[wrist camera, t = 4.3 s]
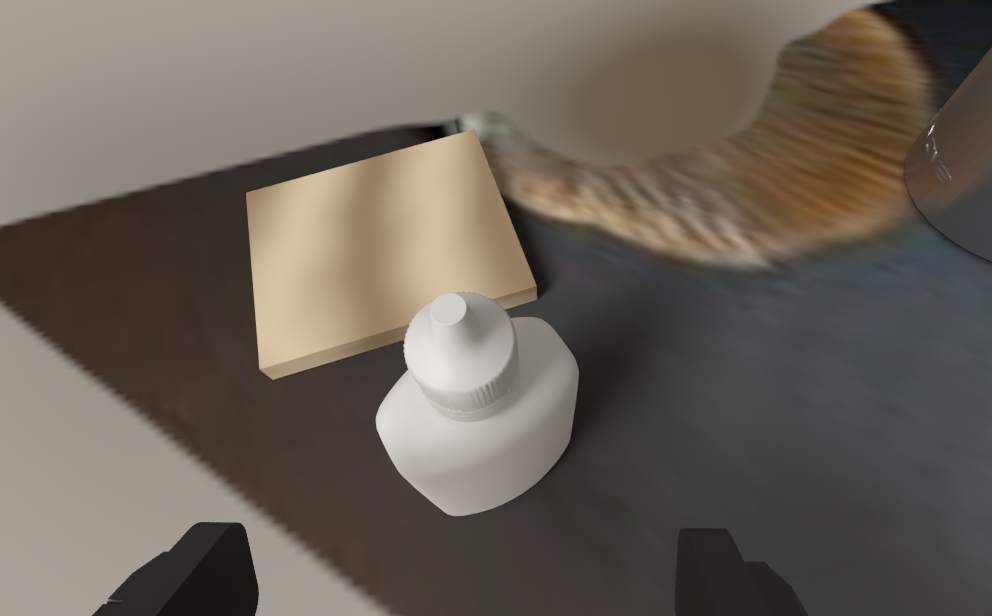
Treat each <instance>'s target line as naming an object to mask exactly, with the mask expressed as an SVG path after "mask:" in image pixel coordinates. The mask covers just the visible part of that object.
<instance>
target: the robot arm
mask: <svg viewBox="0 0 992 616" xmlns="http://www.w3.org/2000/svg"><path fill="white" fill-rule="evenodd" d="M904 176H905V181H906V185H907V189H908V192H909V193H910V195H911V197H912V199H913V201H914V203H915V205H916V207H917V208H918V209H919V210H920V211H921V213H922V214H923V215H924V216H925V217H926V219H927V220H928V221H929V222H930V223H931V224H932V225H933V226H934V227H935V228H937V229H938V230H939V231H940V232H941V233H943V234H944V235H945V236H946V237H947V238H948V239H950V240H952V241H953V242H955V243H956V244H958V245H960V246H961V247H963V248H964V249H966V250H968V251H969V252H971V253H973V254H976V255H978V256H980V257H982V258H984V259H987V260H989V261H991V262H992V48H991V49H990V50H989V51H988V53H987V54H986V55H985V56H984V57H983V59H982V60H981V61H980V62H979V64H978V65H977V66H976V67H975V68H974V70H973V71H972V72H971V73H970V75H969V76H968V77H967V78H966V79H965V81H964V82H963V83H962V84H961V86H960V87H959V88H958V89H957V90H956V92H955V93H954V94H953V95H952V97H951V98H950V99H949V100H948V102H947V103H946V104H945V105H944V106H943V108H940V110H939V111H938V112H937V113H936V115H935V116H934V117H933V118H932V120H931V121H930V123H929V125H928V126H927V127H926V129H925V130H924V131H923V132H922V134H921V135H920V136H919V137H918V139H917V140H916V141H915V142H914V144H913V145H912V146H911V148H910V150H909V152H908V154H907V157H906V159H905V168H904ZM258 596H259V592H258V584H257V579H256V575H255V570H254V565H253V561H252V556H251V552H250V547H249V543H248V538H247V533H246V530H245V528H244V526H243V525H242V524H241V523H223V522H221V523H220V522H216V523H215V522H200V523H197V524H195V525H194V526H192V527H191V528H190V529H189V530H188V531H187V532H186V533H185V534H184V536H183V537H182V538H181V539H180V540H179V541H178V542H177V543H176V544H175V545H174V546H173V548H172V549H171V550H170V551H169V552H163V553H161V554H160V555H158V556H157V557H155V558H154V559H152V560H151V561H149V562H148V563H147V564H145V565H144V566H142V567H141V568H139V569H138V570H136V571H135V572H134V573H132V574H131V575H130V576H129V577H128V578H127V579H126V581H125V582H124V583H123V584H122V585H121V586H120V587H119V588H118V589H117V590H116V591H115V592H114V593H113V594H112V595H111V596H110V597H109V598H108V602H107V604H103V605H102V606H101V607H100V608H99V609H98V610H97V611H96V612H95V613H94V614H93V615H92V616H255V613H256V609H257V605H258ZM675 612H676V616H808V614H807V613H806V611H805V609H804V608H803V606H802V604H801V602H800V601H799V599H798V597H797V596H796V594H795V592H794V591H793V589H792V587H791V586H790V585H789V584H788V583H787V582H785V581H784V580H783V579H782V578H781V577H780V576H779V575H778V574H777V573H776V572H774V571H773V570H772V569H771V568H770V567H769V566H768V565H767V564H766V563H765V562H744V560H743V558H742V556H741V554H740V552H739V550H738V548H737V546H736V544H735V542H734V540H733V538H732V536H731V535H730V533H729V532H728V531H727V530H726V529H698V528H682V529H681V530H680V532H679V539H678V555H677V571H676V587H675Z"/></svg>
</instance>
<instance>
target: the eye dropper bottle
mask: <svg viewBox="0 0 992 616" xmlns="http://www.w3.org/2000/svg"><path fill="white" fill-rule="evenodd" d="M409 326H410V327H409V328H408V329H407V333H406V334H405V336H406V338H405V339H404V342H405V344H404V345H403V346H404V348H405V349H404V351H403V352H404V353H405V355H404V357H405V359H406V361H405V362H406V364H407V365H408V366H407V367H408V370H407V371H406V373H405V374H404V375H403V376H402V377H401V378H400V379H399V380H398V382H397V383H396V384H395V385H394V386H393V388H392V389H391V390H390V392H389V393H388V395H387V396H386V398H385V399H384V401H383V402H382V404H381V405H380V407H379V410H378V413H377V416H376V426H377V430H378V433H379V435H380V438H381V440H382V442H383V444H384V446H385V448H386V450H387V452H388V454H389V456H390V458H391V460H392V461H393V463H394V465H395V466H396V468H397V470H398V471H399V473H400V474H401V475H402V476H403V477H404V478H405V479H406V480H407V481H408V482H409V483H410V484H411V485H413V486H414V487H415V488H416V489H417V490H418V491H419V492H421V493H422V494H423V495H424V496H425V497H427V498H428V499H429V500H430V501H431V502H433V503H434V504H435V505H436V506H438V507H439V508H440V509H441V510H443V511H444V512H445V513H447V514H449V515H453V516H464V515H470V514H475V513H479V512H483V511H486V510H489V509H492V508H495V507H497V506H500V505H502V504H504V503H507V502H509V501H510V500H512V499H514V498H516V497H518V496H519V495H521V494H522V493H524V492H525V491H527V490H528V489H530V488H531V487H532V486H533V485H535V484H536V483H537V482H538V481H539V480H540V479H541V478H542V477H543V476H544V475H545V474H546V473H547V472H548V471H549V470H550V469H551V468H552V467H553V466H554V464H555V463H556V462H557V461H558V459H559V458H560V457H561V455H562V454H563V452H564V451H565V449H566V447H567V445H568V443H569V441H570V437H571V431H572V425H573V418H574V411H575V404H576V397H577V389H578V378H579V370H578V366H577V363H576V360H575V358H574V356H573V355H572V353H571V352H570V350H569V349H568V347H567V346H566V344H565V343H564V342H563V340H562V339H561V338H560V337H559V335H558V334H557V333H556V331H555V330H554V329H553V328H552V327H551V326H550V325H549V324H548V323H547V322H545V321H544V320H542V319H539V318H533V317H519V318H510V316H509V315H507V312H506V311H504V308H503V307H500V304H497V303H496V301H493V300H491V298H486V296H481V294H476V293H470V292H467V293H466V292H461V293H460V292H457V293H444V294H441V295H439V296H438V297H436V298H435V299H434V300H432V301H431V302H430V303H428V304H427V305H426V306H424V307H422V309H421V310H420V311H418V314H416V315H415V318H413V319H412V322H411V323H410V324H409Z"/></svg>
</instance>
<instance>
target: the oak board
mask: <svg viewBox="0 0 992 616" xmlns="http://www.w3.org/2000/svg"><path fill="white" fill-rule="evenodd" d="M246 198H247V211H248V224H249V237H250V250H251V263H252V276H253V289H254V302H255V315H256V328H257V341H258V354H259V367H260V370H261V371H262V372H264V373H265V374H266V375H268V376H269V377H270V378H271V379H273V380H274V379H277V378H280V377H284V376H287V375H290V374H293V373H297V372H300V371H303V370H307V369H310V368H313V367H317V366H320V365H323V364H326V363H330V362H333V361H336V360H340V359H343V358H346V357H350V356H353V355H356V354H360V353H363V352H366V351H369V350H373V349H376V348H379V347H383V346H386V345H389V344H393V343H396V342H399V341H402V340H404V339H405V338H406V336H405V334H406V333H407V329H408V328H409V327H410V326H409V324H410V323H411V322H412V319H413V318H415V315H416V314H418V311H420V310H421V309H422V307H424V306H426V305H427V304H428V303H430V302H431V301H432V300H434V299H435V298H436V297H438V296H439V295H441V294H444V293H457V292H460V293H461V292H466V293H467V292H470V293H476V294H481V296H486V298H491V300H493V301H496V303H497V304H500V307H503V308H504V310H505V309H508V308H511V307H515V306H518V305H521V304H525V303H528V302H531V301H535V300H537V286H536V283H535V280H534V278H533V275H532V273H531V270H530V268H529V265H528V263H527V260H526V258H525V255H524V253H523V250H522V248H521V245H520V242H519V240H518V237H517V235H516V232H515V230H514V227H513V225H512V222H511V220H510V217H509V215H508V212H507V210H506V207H505V204H504V202H503V199H502V197H501V194H500V192H499V189H498V187H497V184H496V182H495V179H494V177H493V174H492V172H491V169H490V167H489V164H488V161H487V159H486V156H485V154H484V151H483V149H482V146H481V144H480V141H479V139H478V136H477V134H476V131H475V129H474V130H470V131H466V132H463V133H459V134H456V135H452V136H448V137H445V138H441V139H438V140H434V141H430V142H427V143H423V144H420V145H416V146H413V147H409V148H405V149H402V150H398V151H395V152H391V153H387V154H384V155H380V156H377V157H373V158H369V159H366V160H362V161H359V162H355V163H352V164H348V165H344V166H341V167H337V168H334V169H330V170H326V171H323V172H319V173H316V174H312V175H308V176H305V177H301V178H298V179H294V180H290V181H287V182H283V183H280V184H276V185H273V186H269V187H265V188H262V189H258V190H255V191H251V192H247V193H246Z"/></svg>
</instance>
